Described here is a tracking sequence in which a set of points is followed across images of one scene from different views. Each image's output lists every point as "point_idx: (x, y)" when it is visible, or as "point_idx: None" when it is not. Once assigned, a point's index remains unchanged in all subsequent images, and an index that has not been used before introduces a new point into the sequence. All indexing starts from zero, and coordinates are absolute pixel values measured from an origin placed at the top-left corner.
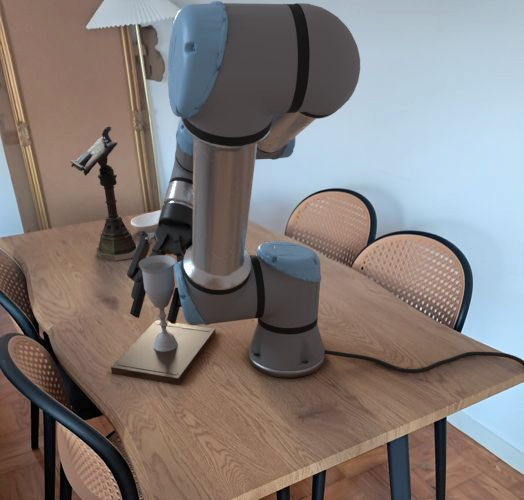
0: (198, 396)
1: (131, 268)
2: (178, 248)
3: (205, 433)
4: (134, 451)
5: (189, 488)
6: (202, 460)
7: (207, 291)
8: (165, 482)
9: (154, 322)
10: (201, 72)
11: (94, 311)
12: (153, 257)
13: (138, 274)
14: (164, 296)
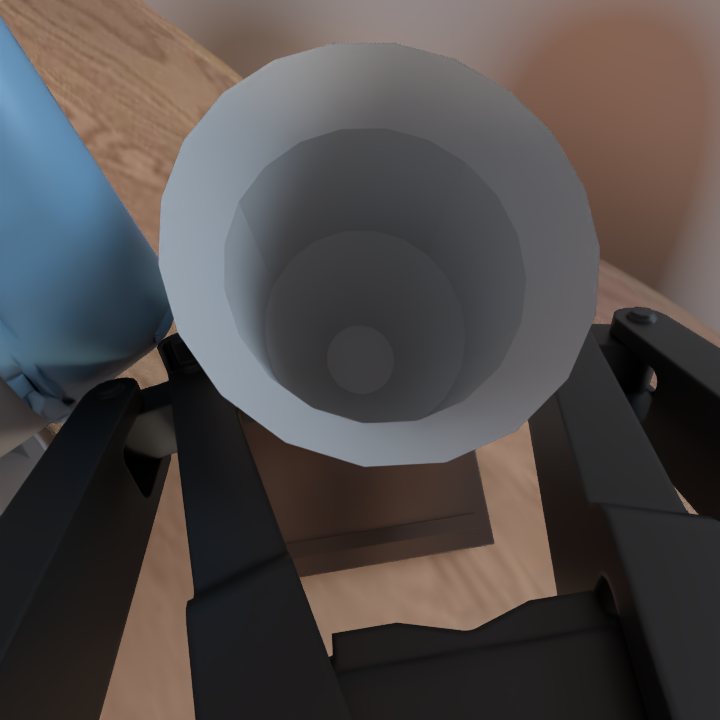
0: (155, 242)
1: (675, 338)
2: (249, 672)
3: (84, 137)
4: (204, 51)
5: (58, 14)
6: (60, 73)
7: None
8: (107, 12)
9: (486, 522)
10: None
11: None
12: (542, 375)
13: None
14: (296, 283)
